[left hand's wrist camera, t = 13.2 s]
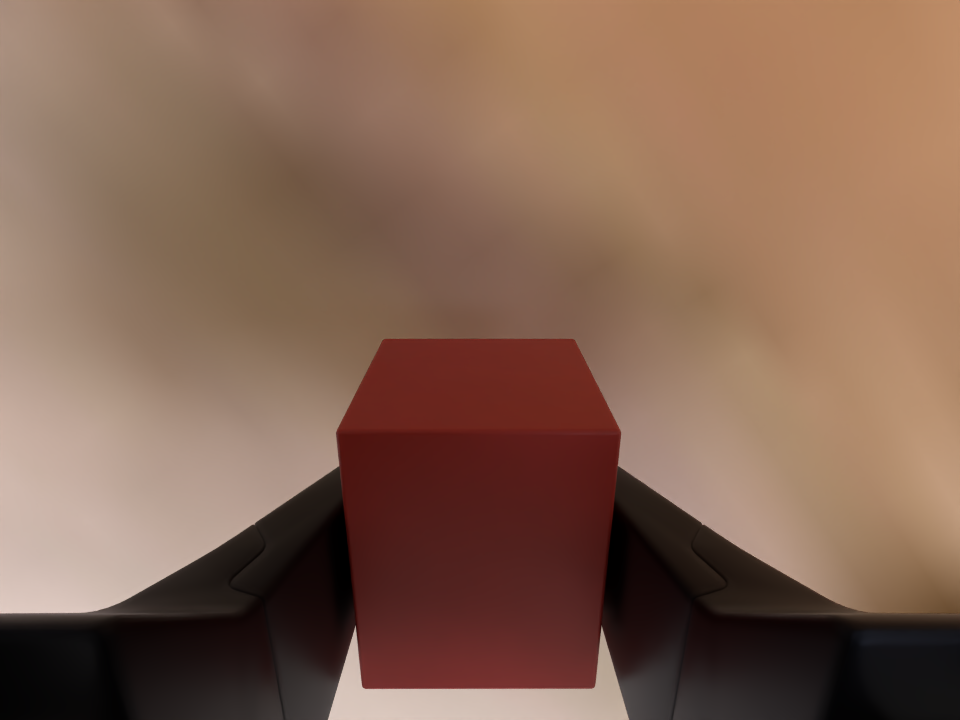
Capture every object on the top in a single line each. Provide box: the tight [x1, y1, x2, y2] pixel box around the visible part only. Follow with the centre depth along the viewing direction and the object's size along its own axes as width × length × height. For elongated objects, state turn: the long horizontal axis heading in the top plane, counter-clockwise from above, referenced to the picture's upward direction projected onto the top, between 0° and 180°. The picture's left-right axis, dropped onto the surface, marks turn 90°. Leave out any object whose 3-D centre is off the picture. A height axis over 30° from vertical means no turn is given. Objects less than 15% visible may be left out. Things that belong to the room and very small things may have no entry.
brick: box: [336, 339, 621, 689], centre depth 11 cm, size 5×4×4 cm
